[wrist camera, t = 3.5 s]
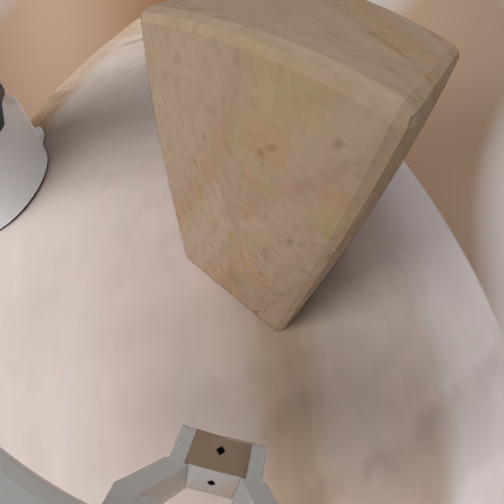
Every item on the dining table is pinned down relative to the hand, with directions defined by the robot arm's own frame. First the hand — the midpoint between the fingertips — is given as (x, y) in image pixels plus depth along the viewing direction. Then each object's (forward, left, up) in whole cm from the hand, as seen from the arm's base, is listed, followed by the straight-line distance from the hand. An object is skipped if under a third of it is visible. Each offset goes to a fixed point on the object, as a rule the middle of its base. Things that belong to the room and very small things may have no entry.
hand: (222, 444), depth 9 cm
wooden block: (0, +14, -12) cm, 18 cm away
